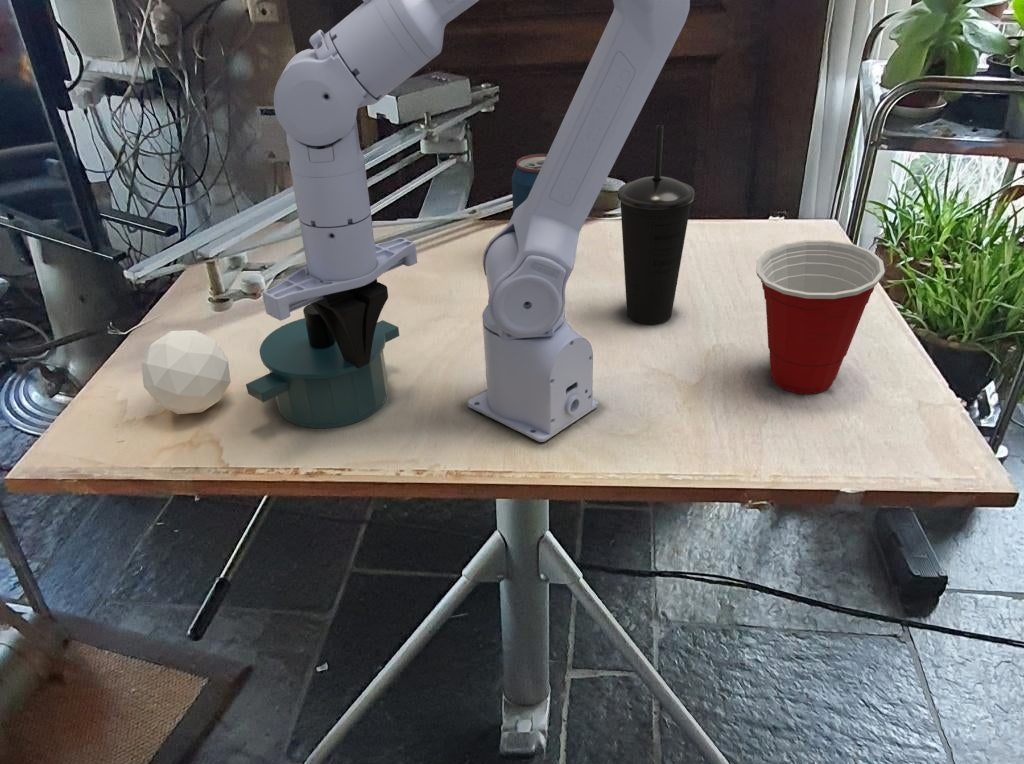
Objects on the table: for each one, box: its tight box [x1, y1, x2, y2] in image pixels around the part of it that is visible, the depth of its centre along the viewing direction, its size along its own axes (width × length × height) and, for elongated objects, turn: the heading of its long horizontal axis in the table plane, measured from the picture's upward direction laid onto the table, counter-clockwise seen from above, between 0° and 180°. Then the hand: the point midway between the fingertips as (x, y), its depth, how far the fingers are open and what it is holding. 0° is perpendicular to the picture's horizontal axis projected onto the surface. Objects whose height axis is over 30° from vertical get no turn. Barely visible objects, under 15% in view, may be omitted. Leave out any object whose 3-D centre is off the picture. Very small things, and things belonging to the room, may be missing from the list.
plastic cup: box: [755, 239, 886, 395], centre depth 81 cm, size 11×11×12 cm
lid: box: [259, 304, 386, 379], centre depth 81 cm, size 11×11×5 cm
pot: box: [245, 319, 400, 429], centre depth 84 cm, size 10×16×6 cm, turn 137°
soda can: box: [511, 153, 548, 214], centre depth 107 cm, size 7×7×12 cm
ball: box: [141, 329, 232, 415], centre depth 83 cm, size 8×8×8 cm
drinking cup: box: [617, 124, 696, 325], centre depth 91 cm, size 8×8×20 cm
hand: (356, 362), depth 79 cm, fingers closed, pressing on lid
